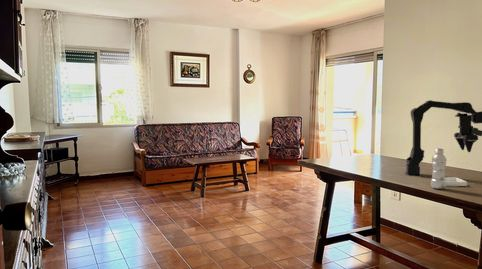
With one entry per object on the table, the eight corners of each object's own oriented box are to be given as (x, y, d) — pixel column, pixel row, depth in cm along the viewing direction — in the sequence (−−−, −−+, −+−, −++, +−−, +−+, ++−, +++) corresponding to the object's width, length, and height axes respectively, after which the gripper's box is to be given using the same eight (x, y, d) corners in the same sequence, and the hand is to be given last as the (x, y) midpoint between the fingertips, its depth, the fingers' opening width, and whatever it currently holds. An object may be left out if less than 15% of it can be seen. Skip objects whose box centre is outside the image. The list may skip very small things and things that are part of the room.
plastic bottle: (440, 186, 178) (441, 148, 176) (448, 190, 171) (449, 149, 169) (427, 187, 178) (428, 148, 176) (435, 190, 171) (436, 150, 169)
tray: (442, 186, 179) (442, 181, 178) (433, 181, 189) (434, 177, 189) (466, 186, 177) (467, 181, 177) (456, 181, 188) (456, 177, 187)
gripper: (488, 124, 189) (489, 152, 190) (474, 122, 207) (474, 148, 208) (465, 125, 192) (466, 153, 193) (453, 123, 210) (454, 149, 211)
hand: (466, 151), depth 201 cm, fingers open, 9 cm apart
